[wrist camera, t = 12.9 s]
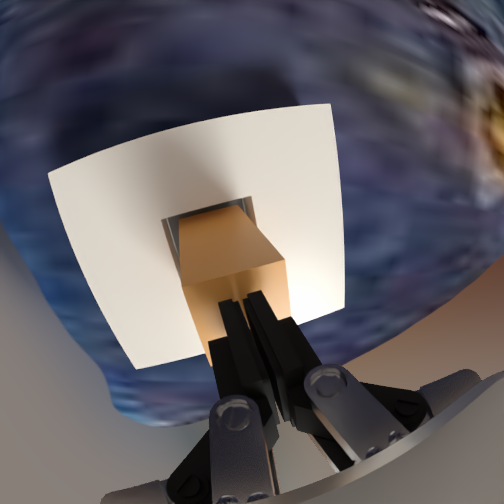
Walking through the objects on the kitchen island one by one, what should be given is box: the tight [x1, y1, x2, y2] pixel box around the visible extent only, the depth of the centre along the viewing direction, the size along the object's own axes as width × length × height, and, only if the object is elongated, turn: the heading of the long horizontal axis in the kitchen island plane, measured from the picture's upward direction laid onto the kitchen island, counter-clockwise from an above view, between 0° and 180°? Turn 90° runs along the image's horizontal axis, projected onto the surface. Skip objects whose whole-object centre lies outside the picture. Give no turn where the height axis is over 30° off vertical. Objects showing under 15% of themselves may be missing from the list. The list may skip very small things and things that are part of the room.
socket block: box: [48, 104, 345, 369], centre depth 19 cm, size 16×18×4 cm
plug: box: [179, 205, 291, 366], centre depth 16 cm, size 4×4×10 cm
